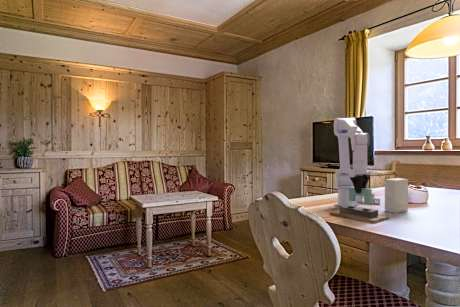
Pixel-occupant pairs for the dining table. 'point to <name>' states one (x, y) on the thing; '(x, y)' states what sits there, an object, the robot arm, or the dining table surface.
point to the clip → (364, 192)
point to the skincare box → (396, 195)
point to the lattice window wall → (359, 199)
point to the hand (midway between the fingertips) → (360, 192)
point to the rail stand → (359, 214)
